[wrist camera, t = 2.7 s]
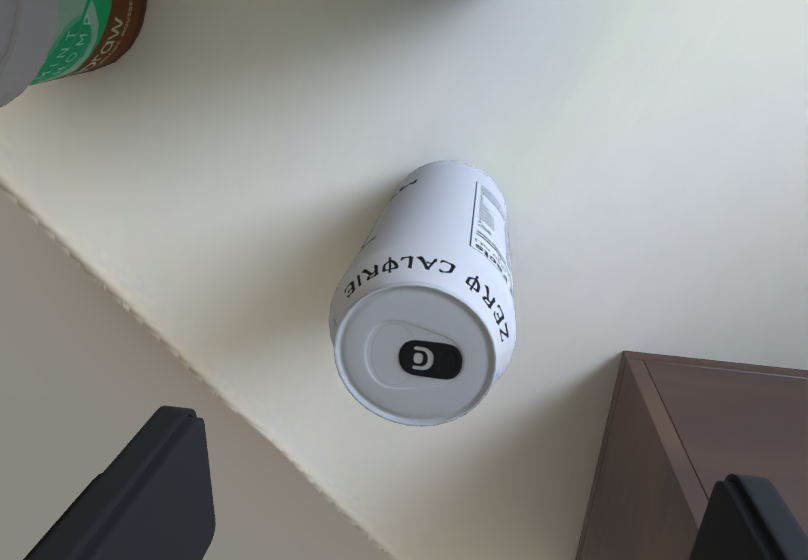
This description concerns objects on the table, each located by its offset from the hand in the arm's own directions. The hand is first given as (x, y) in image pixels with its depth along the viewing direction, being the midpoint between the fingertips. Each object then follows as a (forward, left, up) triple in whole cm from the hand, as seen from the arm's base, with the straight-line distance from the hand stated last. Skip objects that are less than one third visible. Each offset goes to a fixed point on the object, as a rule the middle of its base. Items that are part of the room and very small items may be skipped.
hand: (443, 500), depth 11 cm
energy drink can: (+1, +1, -21) cm, 22 cm away
